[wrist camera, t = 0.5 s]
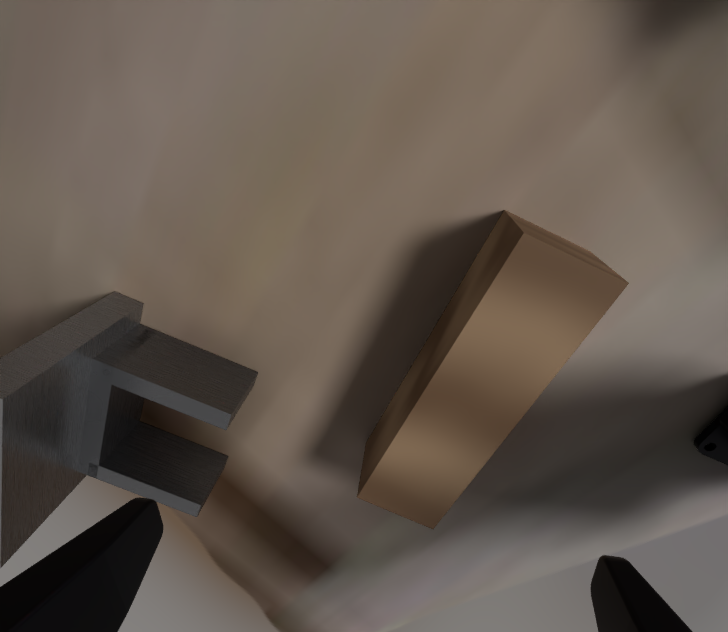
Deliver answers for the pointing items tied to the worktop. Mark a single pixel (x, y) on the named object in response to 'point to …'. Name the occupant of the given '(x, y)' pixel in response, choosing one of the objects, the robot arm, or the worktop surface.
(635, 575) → the robot arm
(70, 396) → the bracket
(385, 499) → the rail
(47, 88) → the worktop surface
